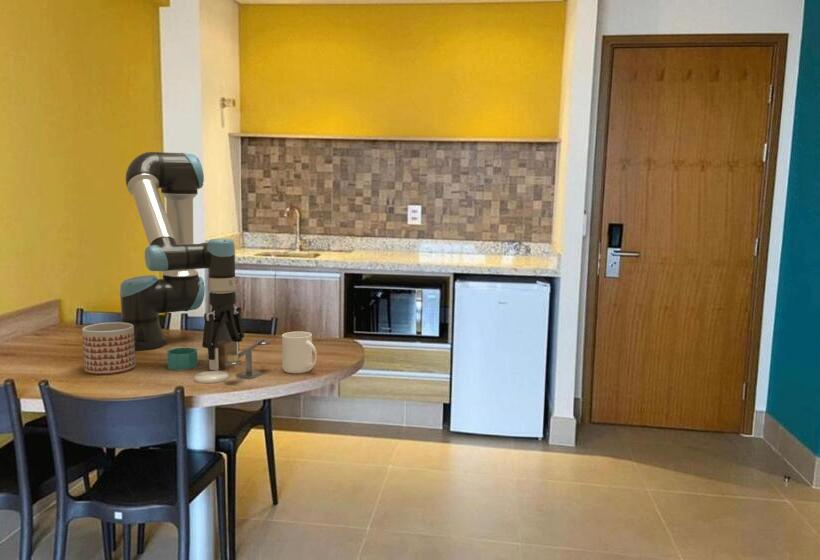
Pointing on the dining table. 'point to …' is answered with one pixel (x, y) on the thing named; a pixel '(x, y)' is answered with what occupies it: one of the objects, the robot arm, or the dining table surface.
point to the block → (225, 353)
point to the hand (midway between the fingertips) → (224, 366)
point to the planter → (108, 348)
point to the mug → (297, 352)
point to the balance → (234, 360)
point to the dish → (211, 377)
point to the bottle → (224, 334)
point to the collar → (182, 358)
